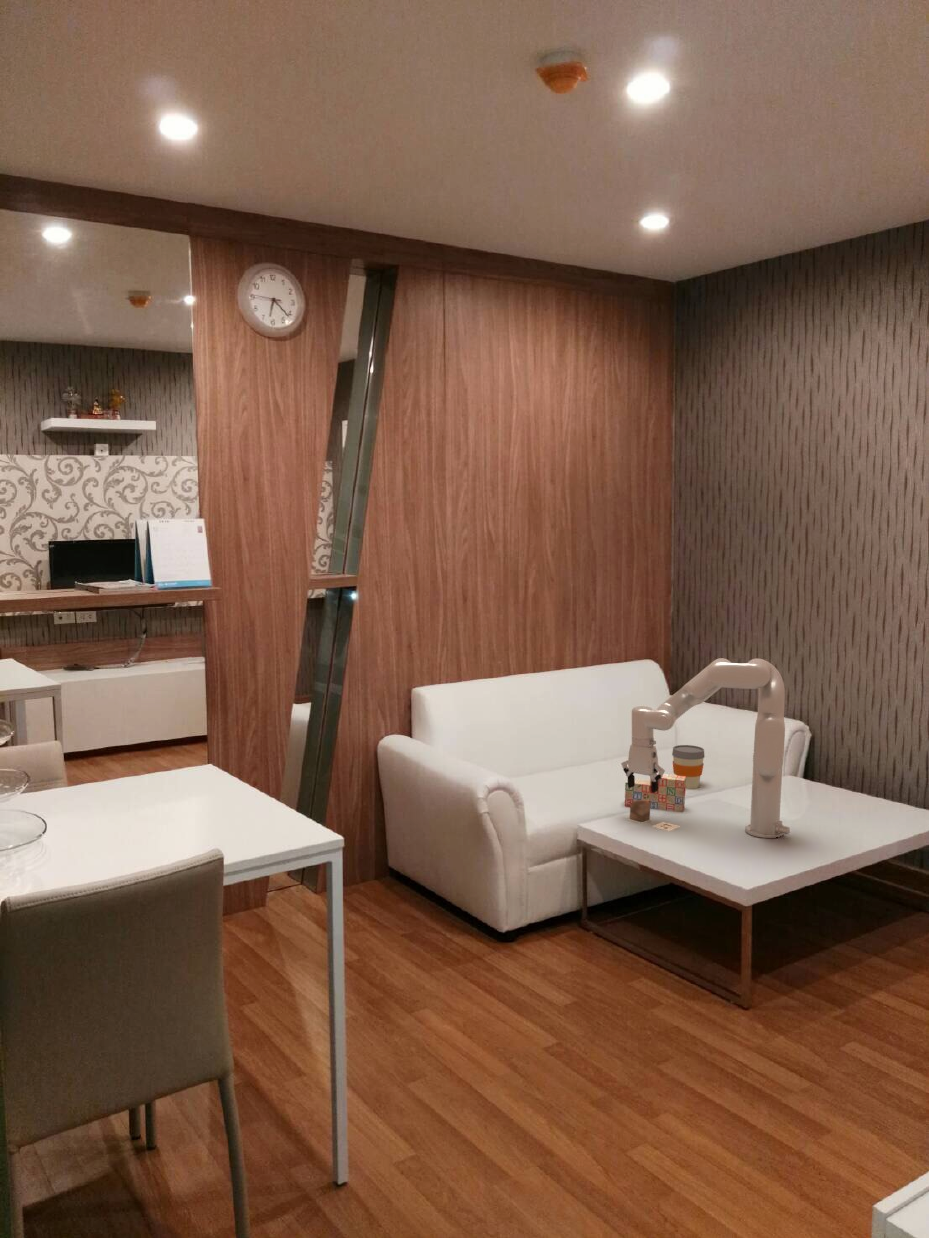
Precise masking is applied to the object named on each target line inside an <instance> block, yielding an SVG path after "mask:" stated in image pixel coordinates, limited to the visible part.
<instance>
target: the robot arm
mask: <svg viewBox="0 0 929 1238" xmlns="http://www.w3.org/2000/svg"><path fill="white" fill-rule="evenodd" d="M722 688H725V689H726V688H728V689H729V688H730V689H747V690H749V689H751V690H755V689H758V698H757V699H758V700H757V702H758V703H757V704H758V705H757V716H756V721H755V723H754V724H755V725H754V740H753V741H754V742H753V753H752V754H753V755H752V762H753V763H752V765H753V766H752V779H751V780H752V782H751V785H752V786H751V801H750V802H751V803H750V804H751V805H750V818H749V819H750V822H749V824H747V825H746V826H745V829H744V830H745V832H746V834H749V835H750V836H752V837H753V836H754V837H757V838H762V839H777V838H776V837H778V838H780V836H781V837H783V836H784V835H783V834H785V835H790V833H791V831H790V827H789V826H785V825H783V821H782V820H780V818H781V817H780V816H781V803H782V800H781V798H782V797H781V796H782V785H783V784H782V780H783V779H782V778H783V765H784V752H785V738H786V724H785V701H786V700H785V697H786V696H785V694H786V693H785V692H786V691H785V690H786V689H785V683H784V680H783V677H782V674H781V673H780V671H779V670H778V669H777V668H776V667H775V666H774V664H772V663H771V662H769V661H767V660H765V659H763V658H751V660H749V661H747V662H746V663H745V662H744V663H739V662H737V663H736V662H732V661H730V660H729V659H727V658H724V657H723V658H721V657H719V658H717V659H715V660H713V661H712V662H711V663H709V664H708V665H707V666H706V667H705V668H703V669H702V670H701V671H700V672H699V673H698V674H696V675H695V676H693V678H691V679H690V680H689V681H688V682H686V683H685V684H684V685H683V686H682V687H681V688H680V689H679V690H677V691H676V692H674V693H673V695H671V696H670V697H669V698H667V699H666V700H665V701H663V703H662V704H660V705H659V706H658V707H657V708H656V709H653V708H651V707H649V706H644V705H643V706H639V705H638V706H635V707H633V708H632V710H631V744H630V746H629V750H628V757H627V758H628V760H625V761H623V762H621V763H620V764H621V766H622V769H623V772H624V773H625V776H626V777H627V779H628V788H631V787H634V786H635V779H636V778H635V775H634V774H639V775H644V776H649V777H651V779H652V780H653V781H652V782H651V792H652V793H654V792H657V791H658V780H660V778H662V776H663V774H665V771H666V770H665V769H664V768H663V767H661V765H659V758H658V757H659V756H658V751H657V747H656V744H657V741H656V740H654V739H655V738H654V730H658V731H668V730H670V729H672V728H673V727H674V726H675V722H676V721H677V720H678V719H679V718H681V717H682V716H683V715H684V714H685V713H686V712H687V711H689V710H691V709H692V708H693V707H696V706H697V705H700V704H703V703H704V702H705V701H707V700H708V699H709V698H710V697H711V696H713V695H714V694H715V693H716V692H718V691H719V690H720V689H722ZM657 773H658V775H657ZM782 835H783V836H782Z"/></svg>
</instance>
